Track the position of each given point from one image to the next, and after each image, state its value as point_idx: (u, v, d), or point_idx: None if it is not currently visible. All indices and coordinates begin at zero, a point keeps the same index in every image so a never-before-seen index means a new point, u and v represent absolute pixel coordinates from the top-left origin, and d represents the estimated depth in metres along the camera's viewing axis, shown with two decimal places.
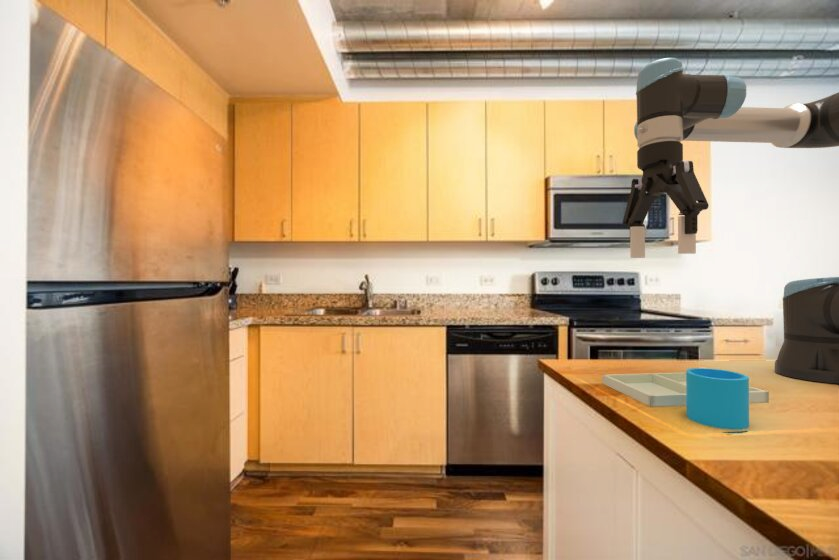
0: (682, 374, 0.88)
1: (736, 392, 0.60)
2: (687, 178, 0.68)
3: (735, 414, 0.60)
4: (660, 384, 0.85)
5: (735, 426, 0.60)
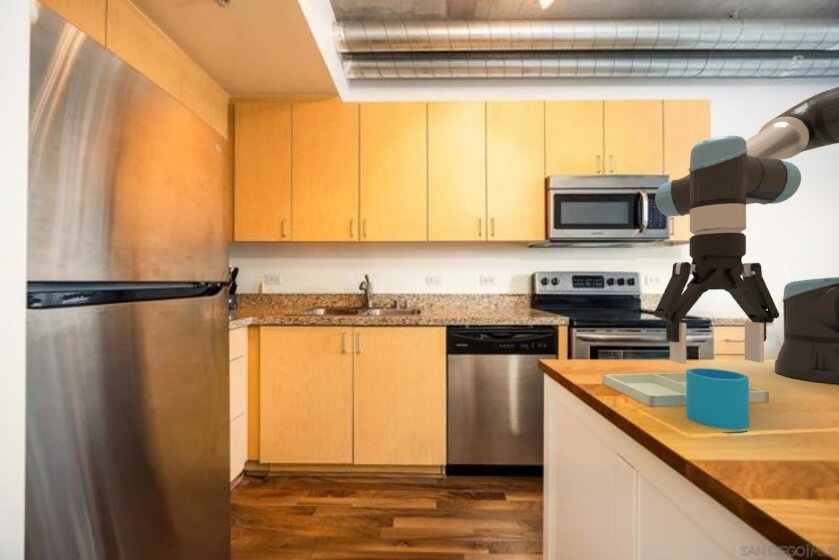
0: (682, 374, 0.88)
1: (736, 392, 0.60)
2: (671, 283, 0.65)
3: (735, 414, 0.60)
4: (660, 384, 0.85)
5: (735, 426, 0.60)
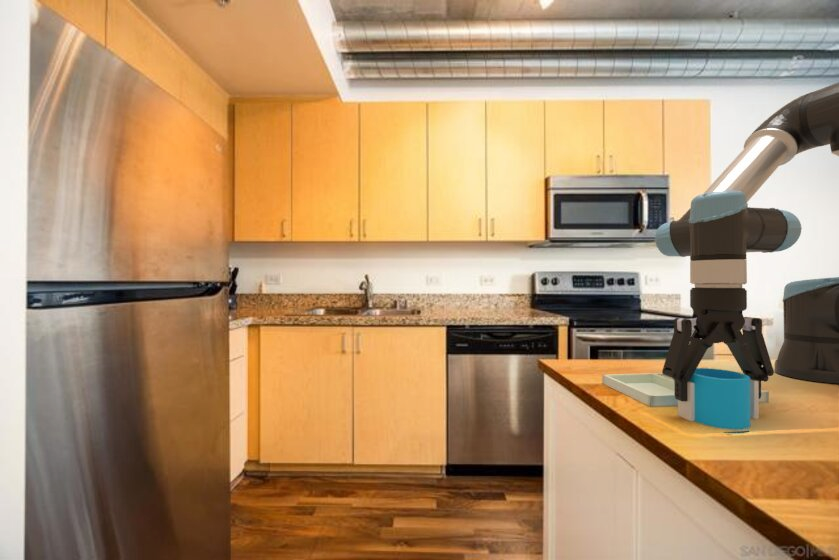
0: None
1: (738, 392, 0.60)
2: (674, 340, 0.65)
3: (736, 414, 0.60)
4: (660, 384, 0.85)
5: (736, 426, 0.60)
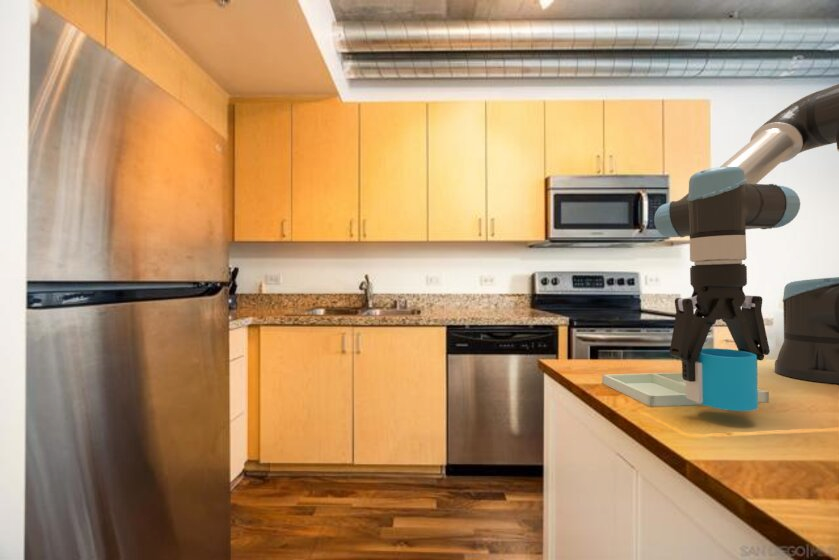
0: None
1: (745, 370, 0.61)
2: (678, 321, 0.66)
3: (744, 392, 0.61)
4: (660, 384, 0.85)
5: (745, 403, 0.61)
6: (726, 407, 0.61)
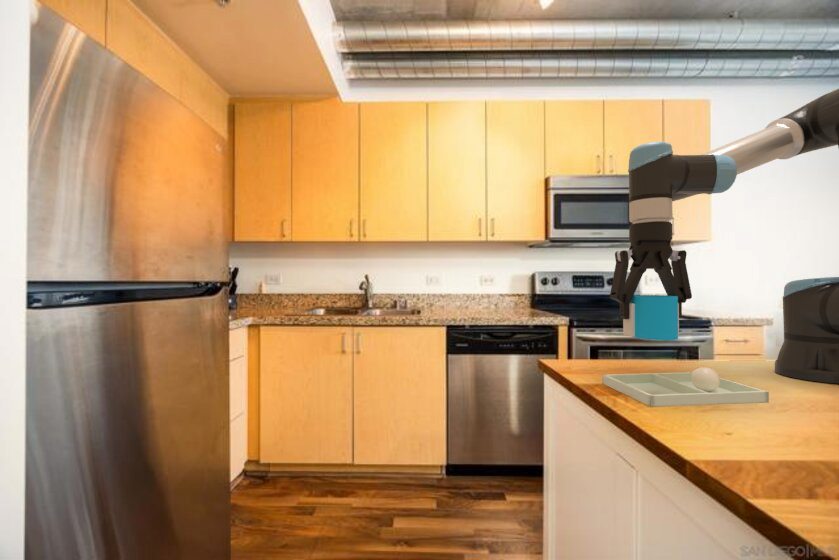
0: (682, 374, 0.88)
1: (667, 307, 0.74)
2: (616, 269, 0.79)
3: (666, 324, 0.74)
4: (660, 384, 0.85)
5: (666, 334, 0.74)
6: (651, 337, 0.75)
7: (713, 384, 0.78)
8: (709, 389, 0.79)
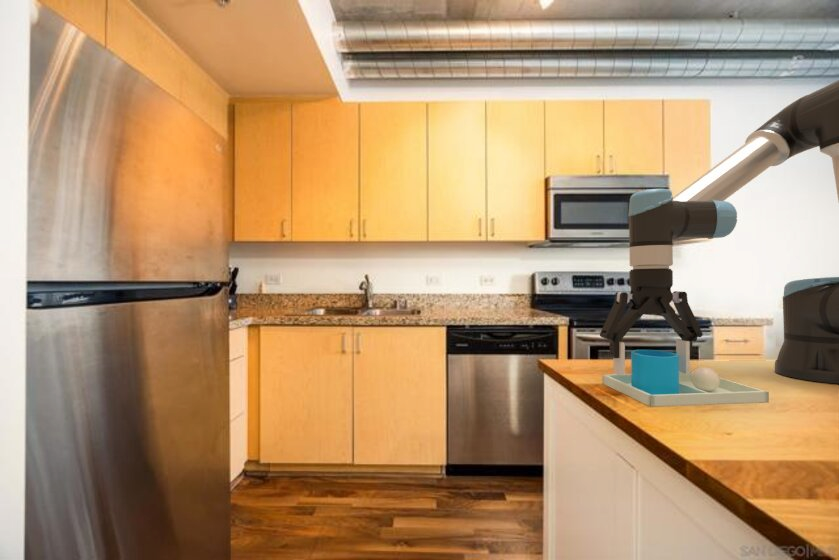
0: (682, 374, 0.88)
1: (668, 367, 0.74)
2: (613, 309, 0.79)
3: (667, 385, 0.74)
4: None
5: None
6: None
7: (713, 384, 0.78)
8: (709, 389, 0.79)
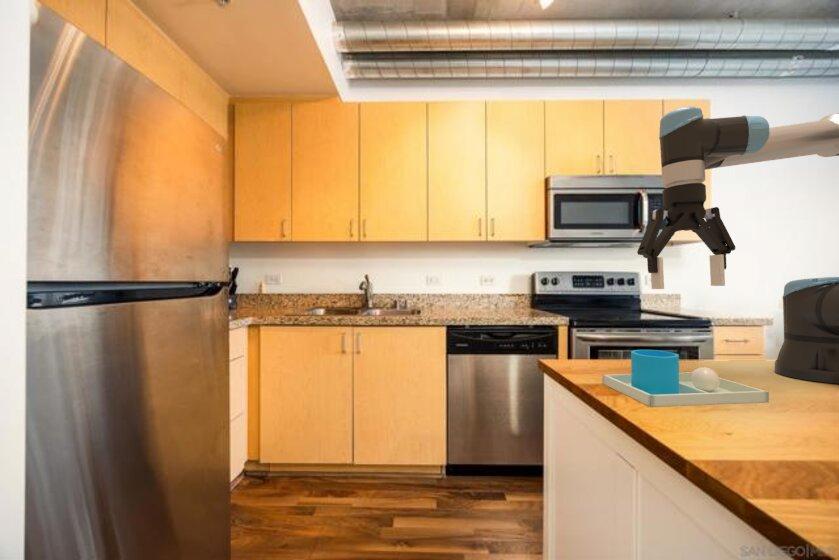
0: (682, 374, 0.88)
1: (668, 367, 0.74)
2: (649, 227, 0.82)
3: (667, 385, 0.74)
4: None
5: None
6: None
7: (713, 384, 0.78)
8: (709, 389, 0.79)
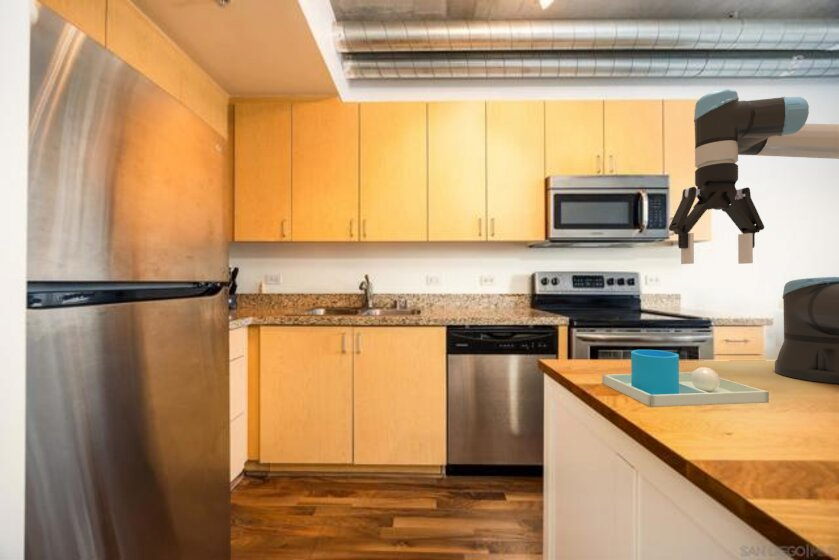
0: (682, 374, 0.88)
1: (668, 367, 0.74)
2: (681, 204, 0.86)
3: (667, 385, 0.74)
4: None
5: None
6: None
7: (713, 384, 0.78)
8: (709, 389, 0.79)
